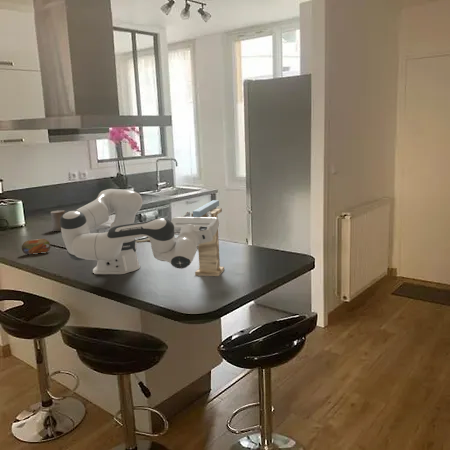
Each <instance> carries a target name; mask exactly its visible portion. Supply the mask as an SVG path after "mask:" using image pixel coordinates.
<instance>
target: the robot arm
mask: <svg viewBox="0 0 450 450" xmlns="http://www.w3.org/2000/svg"><path fill="white" fill-rule="evenodd" d="M142 206H143V198H142V195H141V194H140V193H139V192H137V191H134V190H131V189H119V188H107V189H104V190H101V191H100V192H99V193H98V195H97V197H96V199H94V200H92V201H90V202H89V203H87V204H85V205H83V206H80V207H79V208H77V209H75V210H73V209H72V210H69V211H65V213H64V214H63V215H62V216H61V218H60V227H61V231H60V232H61V237H62V240H63V243H64V246H65V249H66V252H67V254H68V257H70V259H72V260H74V261H76V262H77V261H78V262H81V261H85V260H89V261H96V263H97V264H96V266H95V267H94V268H92V273H94V274H93V275H126V274H128V273H130V272H135V271H138V270H139V269H140V268H141V265H140V262H139V260H138V253H137V242H136V239H135V238H141V237H142V238H144V237H145V238H146V237H147V238H149V239H150V242H149V243H150V247H151V251H152V254H153V255H152V256H153V257H154V258H155V259H156V260H157V261H161V262H167V263H169V264H170V265H171V266H172V267H173V268H175V269H181V270H182V269H186V268H187V267H189V266H190V265H191V264H192V263H193V261H194V258H195V255H196V253H197V251H198V250H197V249H198V245H199V244H202V243H205V242H210V241H212V239H213V235H215V234H216V232H217V230H218V231H219V227H220V221H219V219H218V218H216V217H211V212H207V217H192V216H191V213H190V211H185V213H184V214H183V215H181V216H174V217H172V219H171V220H170V219H167V218H165V217H157V218H154V219H151V220H146V221H140V222H135V220H136V219H135V218H136V215H137V214H138V212H140V210H141V209H142ZM113 214H115V216H114V220H113V222H111V223H110V225H109V230H108V231H104V232H91V231H92V230H94V229H96V228H98V227H99V226H100V227H101V225H103V224H105V223H106V222H108V220H109V218H110V216H111V215H113ZM176 236H177V237H176Z"/></svg>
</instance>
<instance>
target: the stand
mask: <svg viewBox="0 0 450 450" xmlns="http://www.w3.org/2000/svg"><path fill="white" fill-rule="evenodd" d="M209 212H211V217H216V218H218V215H219V214H220V213H222V212H223V209H222V208H221V207H220V208H218V207H216V208H214V209H212V210H211V211H209ZM190 217H193V212H192V213H190ZM201 217H207V213H206V214H204V215H203V216H201ZM219 239H220V238H219V229H218V230H217V232H216V234H215V235H213V239H212V241H210V242H205V243H202V244H199V245H198V246H197V249H198V250H197V251H198V265H199V267H198V269H197V270H195V272H194V275H195V276H200V277H201V276H202V277H203V276H204V277H205V276H206V277H220V275H221V274H222V273H223V272H224V271H225V266H221V265H220V264H221V263H220V262H221V261H220V244H219V243H220V241H219Z"/></svg>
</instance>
